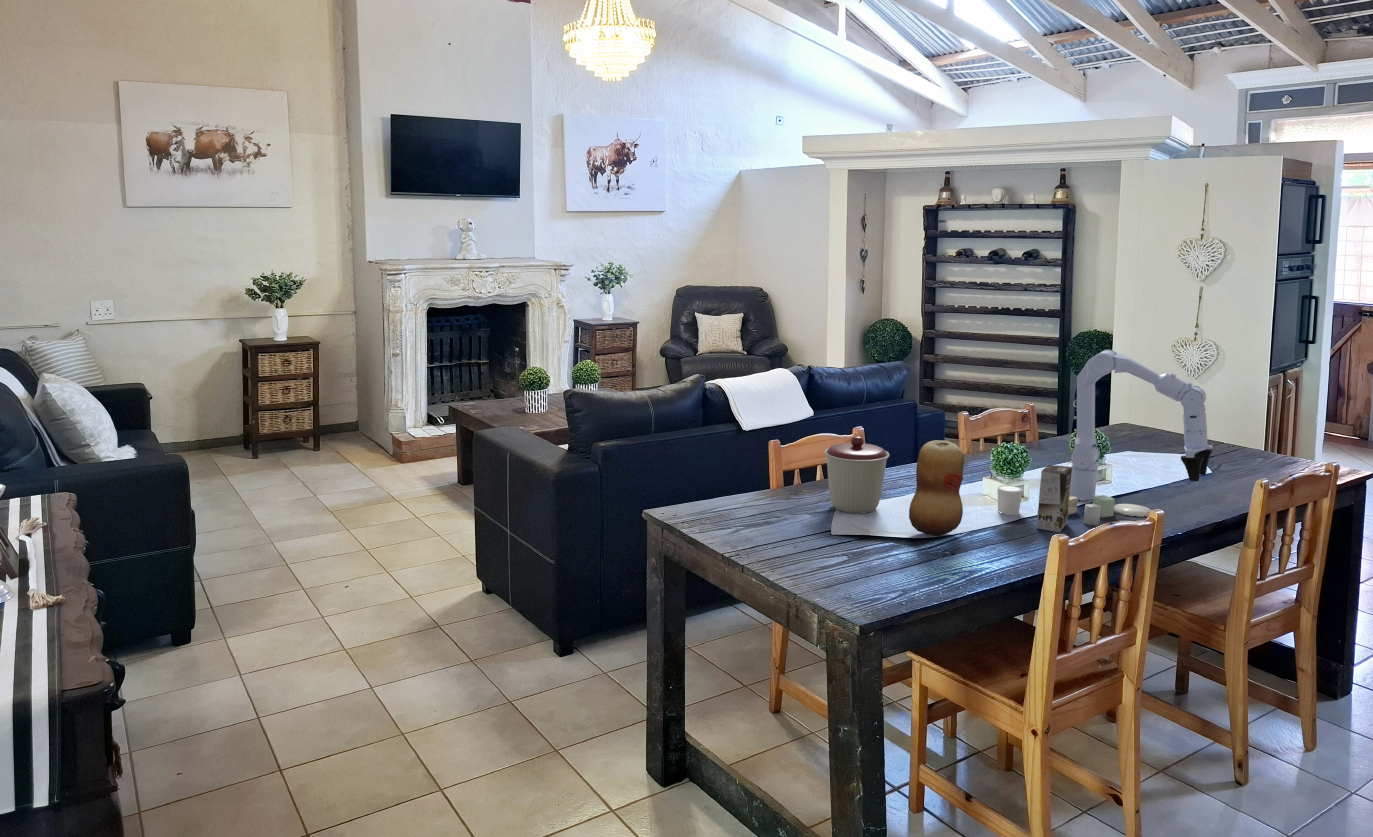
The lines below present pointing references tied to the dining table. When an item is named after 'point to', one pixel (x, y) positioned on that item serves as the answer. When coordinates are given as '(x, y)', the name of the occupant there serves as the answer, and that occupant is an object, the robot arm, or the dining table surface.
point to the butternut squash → (938, 489)
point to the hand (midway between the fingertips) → (1197, 478)
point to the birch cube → (1072, 505)
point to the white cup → (1009, 499)
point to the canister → (855, 475)
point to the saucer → (1131, 510)
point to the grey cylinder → (1092, 514)
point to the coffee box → (1054, 498)
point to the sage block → (1105, 505)
